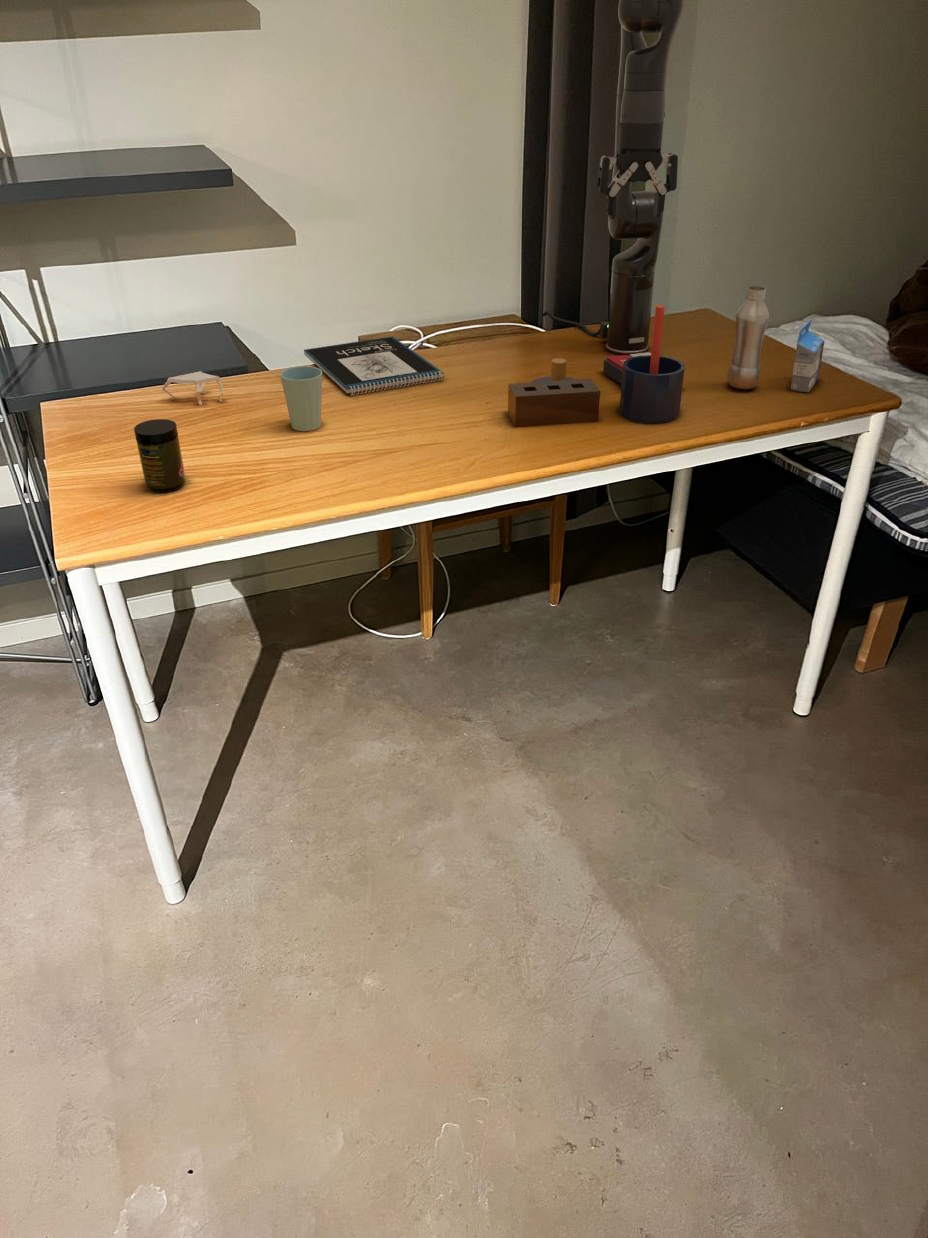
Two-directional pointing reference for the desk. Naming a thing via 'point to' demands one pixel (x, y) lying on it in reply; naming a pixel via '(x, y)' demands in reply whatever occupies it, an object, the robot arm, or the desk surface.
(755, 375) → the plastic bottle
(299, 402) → the cup
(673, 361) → the tin
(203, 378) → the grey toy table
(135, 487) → the desk surface
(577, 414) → the straw holder
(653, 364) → the straw
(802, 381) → the label tape box
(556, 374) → the tin lid
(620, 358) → the calculator
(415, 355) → the sketchbook
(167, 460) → the supplement container
